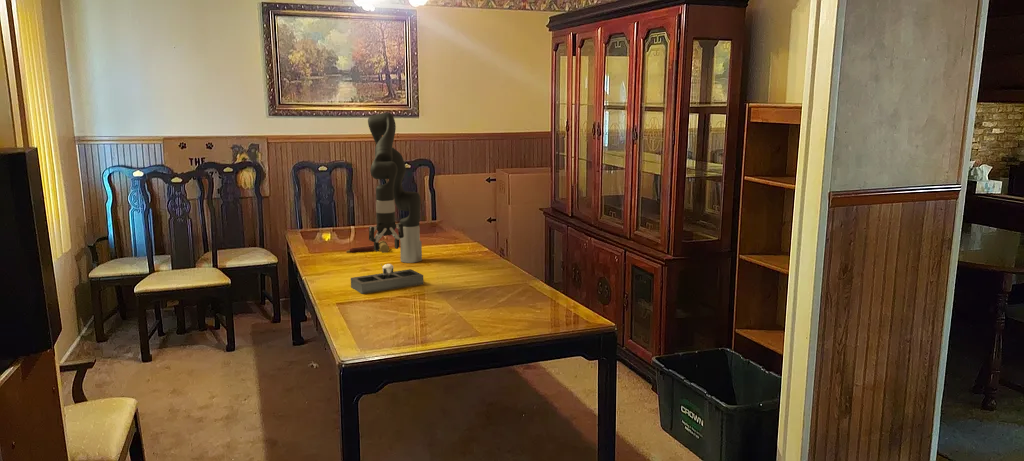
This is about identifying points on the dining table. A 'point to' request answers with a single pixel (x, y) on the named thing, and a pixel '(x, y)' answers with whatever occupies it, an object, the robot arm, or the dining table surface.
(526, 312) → the dining table surface
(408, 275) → the three-window grey frame
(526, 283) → the dining table surface
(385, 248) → the gavel
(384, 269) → the milkshake
